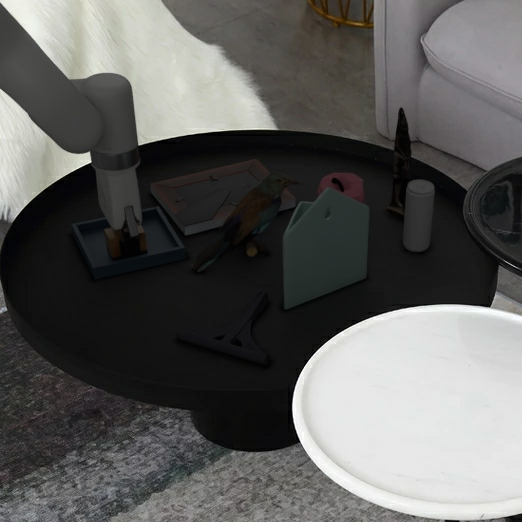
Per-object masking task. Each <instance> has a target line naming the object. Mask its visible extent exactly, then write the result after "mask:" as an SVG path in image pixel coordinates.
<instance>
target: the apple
mask: <svg viewBox="0 0 522 522" xmlns="http://www.w3.org/2000/svg"><path fill="white" fill-rule="evenodd" d="M327 187H330V188H332V189H334V190H336V191H338V192H340V193H342V194H344V195H346V196H348V197H350V198H352V199H354V200H356V201H358V202H360V203H362V204H365V205H366V203H365V192H364V189H365V188H364V179H363V178H361V177H360V176H358V175H356V174H355V173H353V172H332V173H329V174H327V175H325V176H324V177H323V178H321V180H320V182H319V184H318V187H317V192H316V193H317V196H316V199H317V198H318V197H319V196H320V194H321V193H322V192H323V191H324V190H325V189H326V188H327Z"/></svg>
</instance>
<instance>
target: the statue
mask: <svg viewBox="0 0 522 522" xmlns="http://www.w3.org/2000/svg"><path fill="white" fill-rule="evenodd" d="M409 130H410V129H409V123H408V119H407V116H406V113H405V110H404V108H403V107H402V106H401V107H399V109H398V113H397V122H396V129H395V137H394V145H393V146H394V147H393V164H392V167H393V169H392V185H391V186H392V189H391V199H390V203H389V204H388V205H387V206H386V211H387V212H388V213H390V214H393V215H394V216H397V217H399V218H401V219H403V220H404V215H405V202H406V189H407V187H408V183H409V182H411V181H413V179H412V171H411V165H412V154H413V153H412V149H411V147H412V141H411V137H410V133H409Z"/></svg>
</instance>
